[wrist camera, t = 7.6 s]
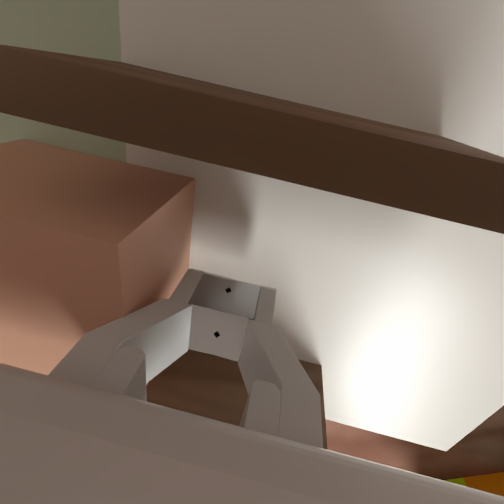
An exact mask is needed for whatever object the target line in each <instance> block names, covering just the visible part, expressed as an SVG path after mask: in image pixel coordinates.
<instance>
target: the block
mask: <svg viewBox="0 0 504 504" xmlns="http://www.w3.org/2000/svg"><path fill="white" fill-rule="evenodd" d="M194 188H195V178H191V177H187V176H183V175H178V174H174V173H170V172H165V171H161V170H156V169H152V168H148V167H143V166H139V165H135V164H130V163H126V162H121V161H117V160H113V159H108V158H104V157H100V156H95V155H91V154H86V153H82V152H78V151H73V150H69V149H65V148H60V147H56V146H51V145H47V144H43V143H38V142H34V141H30V140H25V139H21V140H15V141H10V142H4V143H0V363H3V364H7V365H11V366H14V367H18V368H22V369H26V370H30V371H33V372H37V373H41V374H45V375H49V373H50V372H51V371H52V370H53V369H54V368H55V367H56V366H57V364H58V363H59V362H60V361H61V360H62V359H63V358H64V357H65V356H66V354H67V353H68V352H69V351H70V350H71V349H72V348H73V347H74V346H75V344H76V343H77V342H78V341H79V340H80V339H81V338H82V337H83V335H84V334H85V333H87V332H90V331H92V330H94V329H96V328H99V327H101V326H103V325H105V324H108V323H110V322H112V321H114V320H116V319H119V318H121V317H124V318H125V317H126V315H128V314H130V313H132V312H134V311H137V310H139V309H141V308H143V307H146V306H148V305H150V304H152V303H154V302H157V301H159V300H161V299H163V298H166V299H169V298H170V297H171V295H172V294H173V292H174V291H175V289H176V287H177V286H178V284H179V283H180V281H181V280H182V278H183V276H184V275H185V273H186V272H187V270H188V269H189V258H190V244H191V230H192V216H193V202H194ZM147 384H148V383H146V386H147Z"/></svg>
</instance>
